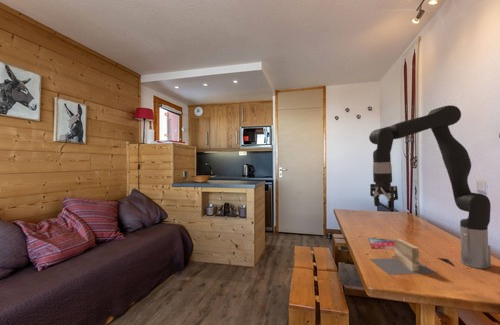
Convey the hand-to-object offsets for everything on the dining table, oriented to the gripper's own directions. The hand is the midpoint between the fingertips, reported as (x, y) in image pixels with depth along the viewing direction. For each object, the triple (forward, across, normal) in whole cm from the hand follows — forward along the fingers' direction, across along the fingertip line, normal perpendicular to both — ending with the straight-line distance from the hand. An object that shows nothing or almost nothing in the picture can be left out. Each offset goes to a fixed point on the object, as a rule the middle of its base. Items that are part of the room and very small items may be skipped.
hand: (383, 207), depth 108 cm
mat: (+28, -2, -6) cm, 28 cm away
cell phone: (+29, +1, -26) cm, 39 cm away
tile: (+27, -2, -9) cm, 28 cm away
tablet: (+28, +23, -22) cm, 43 cm away
